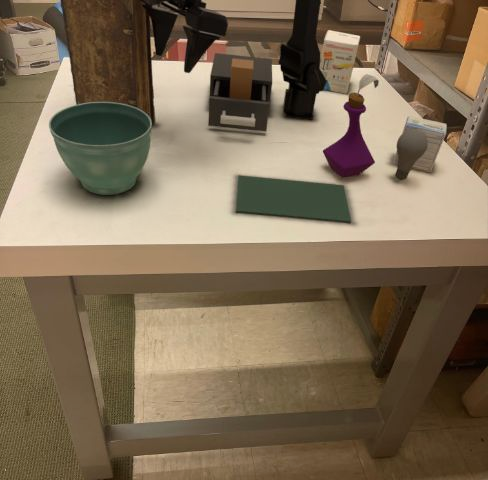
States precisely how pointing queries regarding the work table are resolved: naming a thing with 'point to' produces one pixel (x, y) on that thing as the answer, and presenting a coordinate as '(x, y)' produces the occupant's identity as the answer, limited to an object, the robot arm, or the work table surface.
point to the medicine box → (435, 138)
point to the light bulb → (409, 151)
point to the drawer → (238, 108)
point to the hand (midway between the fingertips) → (172, 63)
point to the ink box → (338, 60)
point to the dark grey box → (223, 71)
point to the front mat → (292, 199)
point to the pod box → (241, 79)
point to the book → (110, 52)
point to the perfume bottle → (352, 138)
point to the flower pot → (103, 144)
